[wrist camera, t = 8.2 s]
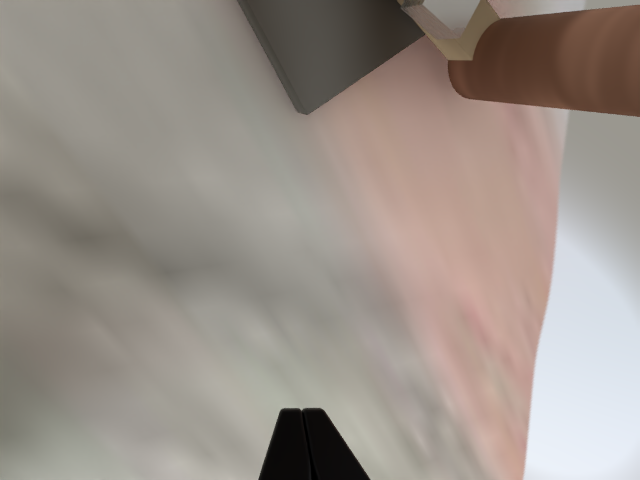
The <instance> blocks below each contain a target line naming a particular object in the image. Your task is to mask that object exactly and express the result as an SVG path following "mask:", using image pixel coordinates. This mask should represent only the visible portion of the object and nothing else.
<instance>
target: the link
mask: <svg viewBox="0 0 640 480" xmlns="http://www.w3.org/2000/svg"><path fill="white" fill-rule="evenodd" d="M397 1H398V3H399V4H400V5H401V6H402V4H403V2H404V0H397ZM414 21H415V20H414ZM415 22H416V21H415ZM416 23H417V22H416ZM417 25H418V26H419V27H420V28H421V29H422V30H423V32H424V33H425V34H426V35H427V36H428V37H429V39H430V40H431V41H432V42H433V43H434V44H435V45H436V47H437V48H438V49H439V50H440V51H441V52H442V54H443V55H444V56H445V57H446V58H447V59H448V73H449V78H450V81H451V84H452V86H453V88H454V89H455V91H456V92H457V93H458V94H459V95H461V96H462V97H464V98H467V99H474V100H484V101H494V102H503V103H513V104H522V105H532V106H541V107H551V108H560V109H570V110H580V111H589V112H598V113H608V114H618V115H627V116H637V117H640V5H632V6H622V7H612V8H602V9H592V10H582V11H572V12H562V13H552V14H543V15H533V16H523V17H513V18H503V19H500V18H499V16H498V15H497V14H496V12H495V11H494V9H493V8H492V7H491V5H490V4H489V3H488V1H487V0H480V2H479V4H478V6H477V7H476V9H475V11H474V13H473V15H472V17H471V19H470V21H469V22H468V24H467V26H466V28H465V30H464V32H463V34H462V36H461V38H454V39H438V40H437V39H436V38H434V37H433V36H432V35H431V34H430V33H429V32H427V31H426V30H425V29H424V28H423V27H422V26H420V25H419V24H418V23H417Z"/></svg>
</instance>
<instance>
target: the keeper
mask: <svg viewBox="0 0 640 480" xmlns="http://www.w3.org/2000/svg"><path fill="white" fill-rule="evenodd" d="M479 2H480V0H404V2H403V4H402V6H401V9H402V10H403V11H404V12H405V13H406V14H408V15H409V16H410V17H411V18H412V19H413V20H415V21H416V22H417V23H418V24H419V25H420V26H422V27H423V28H424V29H425V30H426V31H427V32H429V33H430V34H431V35H432V36H433V37H434V38H436V39H437V40H438V39H454V38H461V36H462V34H463V32H464V30H465V28H466V26H467V24H468V22H469V21H470V19H471V17H472V15H473V13H474V11H475V9H476V7H477V6H478V4H479Z"/></svg>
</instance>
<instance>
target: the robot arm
mask: <svg viewBox="0 0 640 480" xmlns="http://www.w3.org/2000/svg"><path fill="white" fill-rule="evenodd" d="M258 480H370V478H369V477H368V475H367V474H366V472H365V471H364V469H363V468H362V466H361V465H360V463H359V462H358V460H357V459H356V457H355V456H354V454H353V453H352V451H351V450H350V448H349V447H348V445H347V444H346V442H345V441H344V439H343V438H342V436H341V435H340V433H339V432H338V430H337V429H336V427H335V426H334V424H333V423H332V421H331V420H330V418H329V417H328V415H327V414H326V412H325V411H324V410H323V409H321V408H304V409H303V410H302V411H301V410H300V409H299V408H284V409H281V411H280V413H279V416H278V419H277V422H276V425H275V428H274V432H273V435H272V438H271V441H270V444H269V447H268V450H267V454H266V457H265V460H264V463H263V466H262V469H261V473H260V476H259V479H258Z"/></svg>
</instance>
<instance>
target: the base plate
mask: <svg viewBox="0 0 640 480" xmlns="http://www.w3.org/2000/svg"><path fill="white" fill-rule="evenodd" d="M237 1H238V2H239V4H240V6H241V8H242V10H243V12H244V14H245V15H246V17H247V19H248V21H249V23H250V25H251V27H252V28H253V30H254V32H255V34H256V36H257V38H258V40H259V41H260V43H261V45H262V47H263V49H264V51H265V53H266V54H267V56H268V58H269V60H270V62H271V64H272V66H273V67H274V69H275V71H276V73H277V75H278V77H279V79H280V80H281V82H282V84H283V86H284V88H285V90H286V92H287V93H288V95H289V97H290V99H291V101H292V103H293V105H294V106H295V108H296V110H297V112H298V113H302V114H306V115H308V114H310V113H311V112H313V111H314V110H315V109H317V108H318V107H320V106H321V105H323V104H324V103H326V102H327V101H329V100H330V99H332V98H333V97H335V96H336V95H337V94H339V93H340V92H342V91H343V90H345V89H346V88H348V87H349V86H351V85H352V84H354V83H355V82H356V81H358V80H359V79H361V78H362V77H364V76H365V75H367V74H368V73H370V72H371V71H373V70H374V69H375V68H377V67H378V66H380V65H381V64H383V63H384V62H386V61H387V60H389V59H390V58H392V57H393V56H394V55H396V54H397V53H399V52H400V51H402V50H403V49H405V48H406V47H408V46H409V45H411V44H412V43H413V42H415V41H416V40H418V39H419V38H421V37H422V36H424V35H425V33H424V32H423V30H422V29H421V28H420V27H419V26H418V25H417V23H416V22H415V21H414V20H413V19H412V18H411V17H410V16H409V15H408V14H406V13H405V12H404V11H403V10H402V9H401V5H400V4H399V3H398V1H397V0H237Z"/></svg>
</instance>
